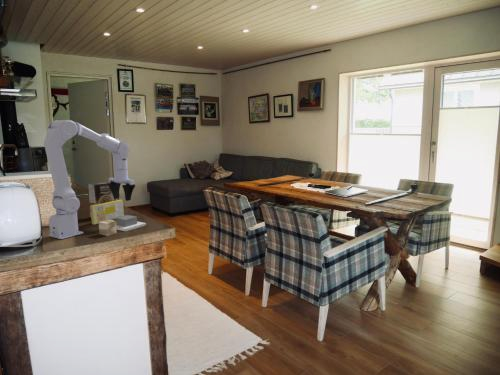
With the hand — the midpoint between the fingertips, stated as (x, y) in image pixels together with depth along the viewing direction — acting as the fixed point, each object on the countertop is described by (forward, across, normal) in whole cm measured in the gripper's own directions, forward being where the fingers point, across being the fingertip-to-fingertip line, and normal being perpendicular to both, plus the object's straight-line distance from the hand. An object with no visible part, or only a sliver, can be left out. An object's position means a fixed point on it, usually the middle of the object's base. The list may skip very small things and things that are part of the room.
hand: (122, 199), depth 158 cm
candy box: (+10, +8, +2) cm, 13 cm away
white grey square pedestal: (+10, -8, +5) cm, 14 cm away
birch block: (+10, -10, +16) cm, 21 cm away
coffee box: (+10, +16, -1) cm, 19 cm away
